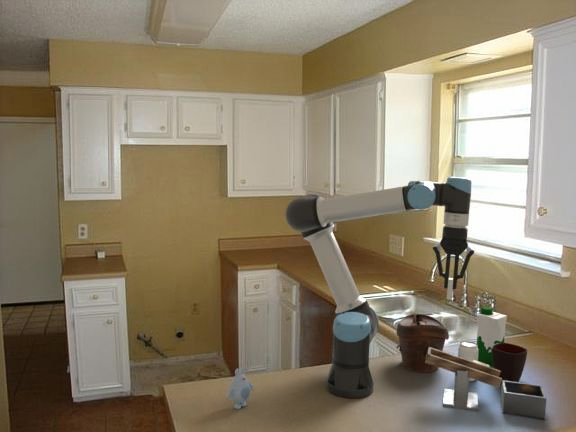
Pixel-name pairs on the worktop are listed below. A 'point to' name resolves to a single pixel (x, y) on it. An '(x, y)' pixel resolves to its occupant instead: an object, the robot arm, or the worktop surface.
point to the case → (420, 340)
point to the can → (468, 352)
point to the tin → (523, 399)
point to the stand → (461, 393)
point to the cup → (509, 361)
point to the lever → (464, 366)
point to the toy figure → (239, 389)
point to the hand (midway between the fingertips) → (449, 298)
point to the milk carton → (489, 333)
